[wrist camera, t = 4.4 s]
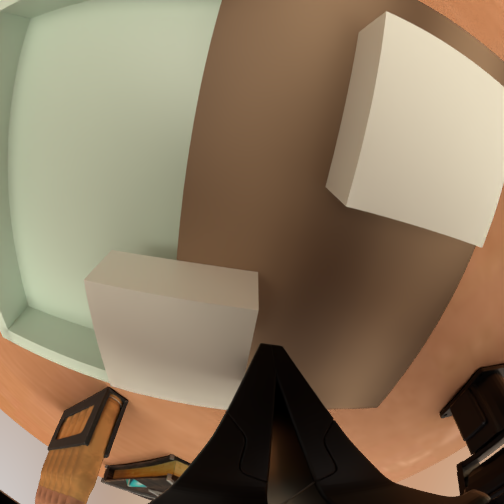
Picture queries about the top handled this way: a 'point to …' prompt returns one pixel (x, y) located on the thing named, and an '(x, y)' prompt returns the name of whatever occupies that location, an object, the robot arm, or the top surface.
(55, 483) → the ammunition clip
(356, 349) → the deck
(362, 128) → the tile
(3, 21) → the tray
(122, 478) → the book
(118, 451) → the top surface
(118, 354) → the tile
